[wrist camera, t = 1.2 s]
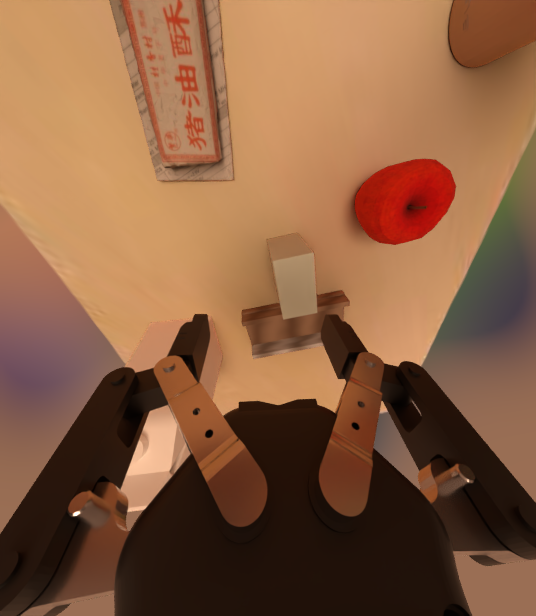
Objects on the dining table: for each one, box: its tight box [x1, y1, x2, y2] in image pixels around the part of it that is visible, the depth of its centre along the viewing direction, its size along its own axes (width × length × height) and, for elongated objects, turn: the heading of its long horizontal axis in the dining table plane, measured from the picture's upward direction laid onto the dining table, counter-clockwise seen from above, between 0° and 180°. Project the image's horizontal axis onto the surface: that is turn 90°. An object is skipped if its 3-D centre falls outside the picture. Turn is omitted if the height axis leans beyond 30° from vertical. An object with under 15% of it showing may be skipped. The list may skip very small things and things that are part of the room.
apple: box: [355, 159, 456, 245], centre depth 25 cm, size 9×9×11 cm
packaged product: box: [109, 0, 234, 181], centre depth 20 cm, size 18×5×10 cm
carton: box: [267, 233, 317, 320], centre depth 30 cm, size 9×5×10 cm, turn 11°
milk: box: [121, 316, 223, 512], centre depth 31 cm, size 12×12×26 cm
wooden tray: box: [242, 290, 350, 359], centre depth 39 cm, size 20×10×4 cm, turn 101°
